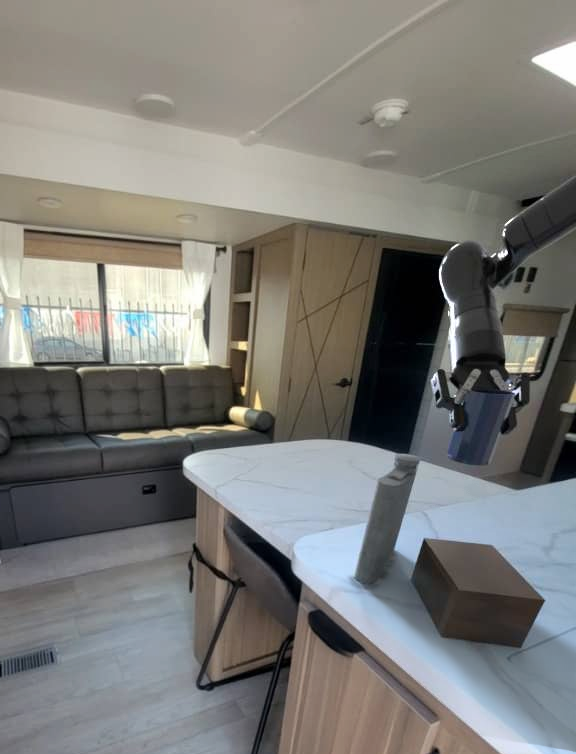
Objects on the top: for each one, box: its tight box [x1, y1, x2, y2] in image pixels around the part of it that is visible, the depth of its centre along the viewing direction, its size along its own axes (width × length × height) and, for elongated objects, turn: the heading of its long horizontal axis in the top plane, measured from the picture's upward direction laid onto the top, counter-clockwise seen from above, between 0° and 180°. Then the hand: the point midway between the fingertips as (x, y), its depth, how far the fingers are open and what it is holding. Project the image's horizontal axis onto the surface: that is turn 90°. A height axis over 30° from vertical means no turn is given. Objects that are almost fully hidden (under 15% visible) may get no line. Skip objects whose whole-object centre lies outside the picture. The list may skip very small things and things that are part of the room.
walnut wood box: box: [410, 537, 546, 649], centre depth 60 cm, size 10×14×8 cm
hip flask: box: [353, 453, 421, 585], centre depth 68 cm, size 16×4×20 cm, turn 143°
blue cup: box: [446, 388, 516, 467], centre depth 65 cm, size 6×6×11 cm
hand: (483, 430), depth 63 cm, fingers closed on blue cup, 6 cm apart
